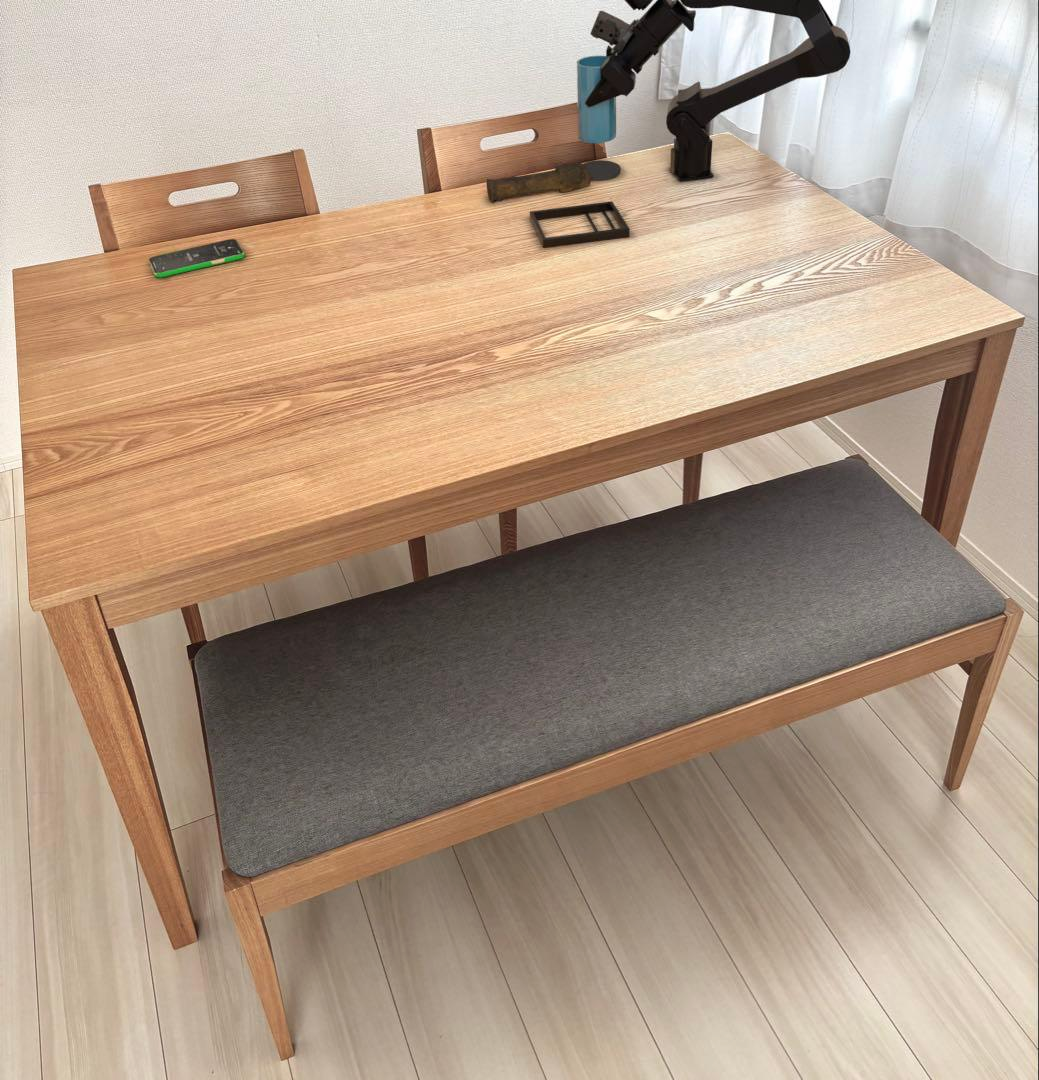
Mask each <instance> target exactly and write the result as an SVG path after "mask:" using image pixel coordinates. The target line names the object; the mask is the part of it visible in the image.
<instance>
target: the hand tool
mask: <svg viewBox="0 0 1039 1080" xmlns="http://www.w3.org/2000/svg"><path fill="white" fill-rule="evenodd" d="M590 184H591V180H590V173H589V172H588V170H587V167H586V166H585V165H584V163H582V162H571V163H562V164H559V165H556V167H555V169H553V170H548V171H542V172H536V173H529V174H523V175H518V176H517V175H515V176H514V175H513V176H510V177H509V176H508V177H501V178H496V179H491V178H486V193H487V197H488V201H490V202H491V203H493V202H494V201H502V200H503V199H508V198H513V197H518V196H524V195H532V194H537V193H538V194H539V193H545V192H549V191H558V192H559V193H563V194H564V193H569V192H572V191H575V190H579V189H582V188H585V187H588V186H590Z"/></svg>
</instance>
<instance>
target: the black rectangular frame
mask: <svg viewBox="0 0 1039 1080" xmlns="http://www.w3.org/2000/svg"><path fill="white" fill-rule="evenodd" d="M607 212H610V214H611V215H612V217H613V218H614V220H615V222H616V223H617V226H618V227H619V228H616V227H615V225H614V224H613V222H612V220H611V219H610V217H609V215H608V214H607ZM596 213H601V214H602V215H603V216H604V218H605V220H606V222H607V223H608V225H609V226H610V228H611V229H604V230H598V228H597V226H596V225H595V222H593V219H592V218H591V216H590V215H591V214H596ZM582 215H585V217H586V219H587V220H588V223H589V224H590V226H591V227H592V229H593V231H589V232H581V233H573V234H564V235H557V236H549V237H546V236H545V234H544V232H543V230H542V228H541V225H540V223H539V221H540V220H550V219H557V218H566V217H573V216H582ZM624 219H625V218H623V215H622V214H621V213H620V211H619V210H618V208H617V206H616V205H615V203H614V202H613V201H604V202H595V203H594V202H593V203H588V204H587V203H586V204H579V205H572V206H571V205H570V206H563V207H555V208H546V209H539V210H532V211H531V210H530V211H529V220H530V223H531V225H532V227H533V229H534V232H535V234H536V236H537V238H538V240H539V242H540V245H541V247H542V249H549V248H555V247H563V246H571V245H577V244H585V243H586V244H587V243H594V242H600V241H610V240H617V239H624V238H630V227H629V225H628V224H627V222H626V221H625V220H624Z"/></svg>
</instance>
